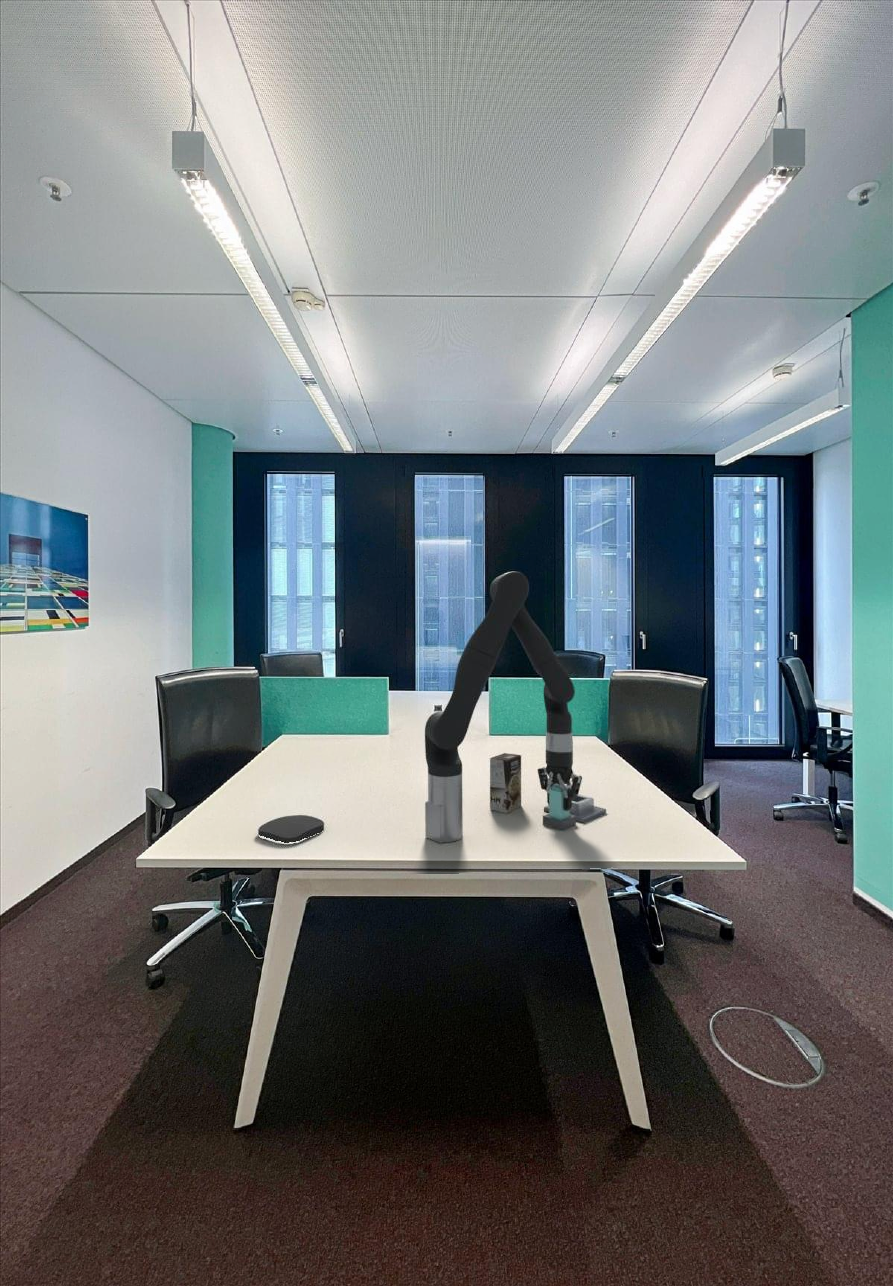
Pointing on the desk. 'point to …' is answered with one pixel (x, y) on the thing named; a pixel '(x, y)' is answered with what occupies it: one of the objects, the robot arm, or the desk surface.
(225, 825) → the desk surface
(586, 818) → the grey stepped base
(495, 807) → the coffee box
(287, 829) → the media streaming box
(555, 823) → the dark grey square tray
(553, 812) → the plug
